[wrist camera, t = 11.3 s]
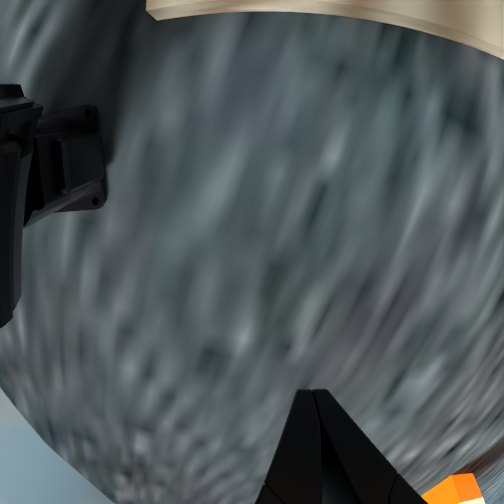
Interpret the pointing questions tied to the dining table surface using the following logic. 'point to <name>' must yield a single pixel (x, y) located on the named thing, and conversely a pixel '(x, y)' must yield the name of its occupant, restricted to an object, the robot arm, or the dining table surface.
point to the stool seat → (373, 15)
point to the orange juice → (455, 491)
